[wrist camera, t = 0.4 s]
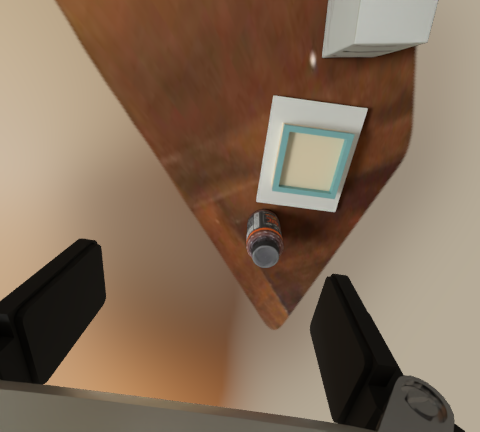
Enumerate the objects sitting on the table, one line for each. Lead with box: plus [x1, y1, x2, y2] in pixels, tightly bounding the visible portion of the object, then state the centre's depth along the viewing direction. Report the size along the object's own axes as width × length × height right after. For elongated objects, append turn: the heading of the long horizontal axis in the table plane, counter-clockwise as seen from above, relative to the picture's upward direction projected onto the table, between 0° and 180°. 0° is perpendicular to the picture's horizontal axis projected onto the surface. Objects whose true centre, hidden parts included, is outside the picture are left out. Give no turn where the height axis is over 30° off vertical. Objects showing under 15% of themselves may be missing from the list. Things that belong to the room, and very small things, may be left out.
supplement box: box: [322, 0, 438, 58], centre depth 29 cm, size 7×7×13 cm
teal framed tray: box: [256, 95, 368, 212], centre depth 41 cm, size 17×14×4 cm
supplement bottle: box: [246, 210, 284, 268], centre depth 43 cm, size 6×6×11 cm
